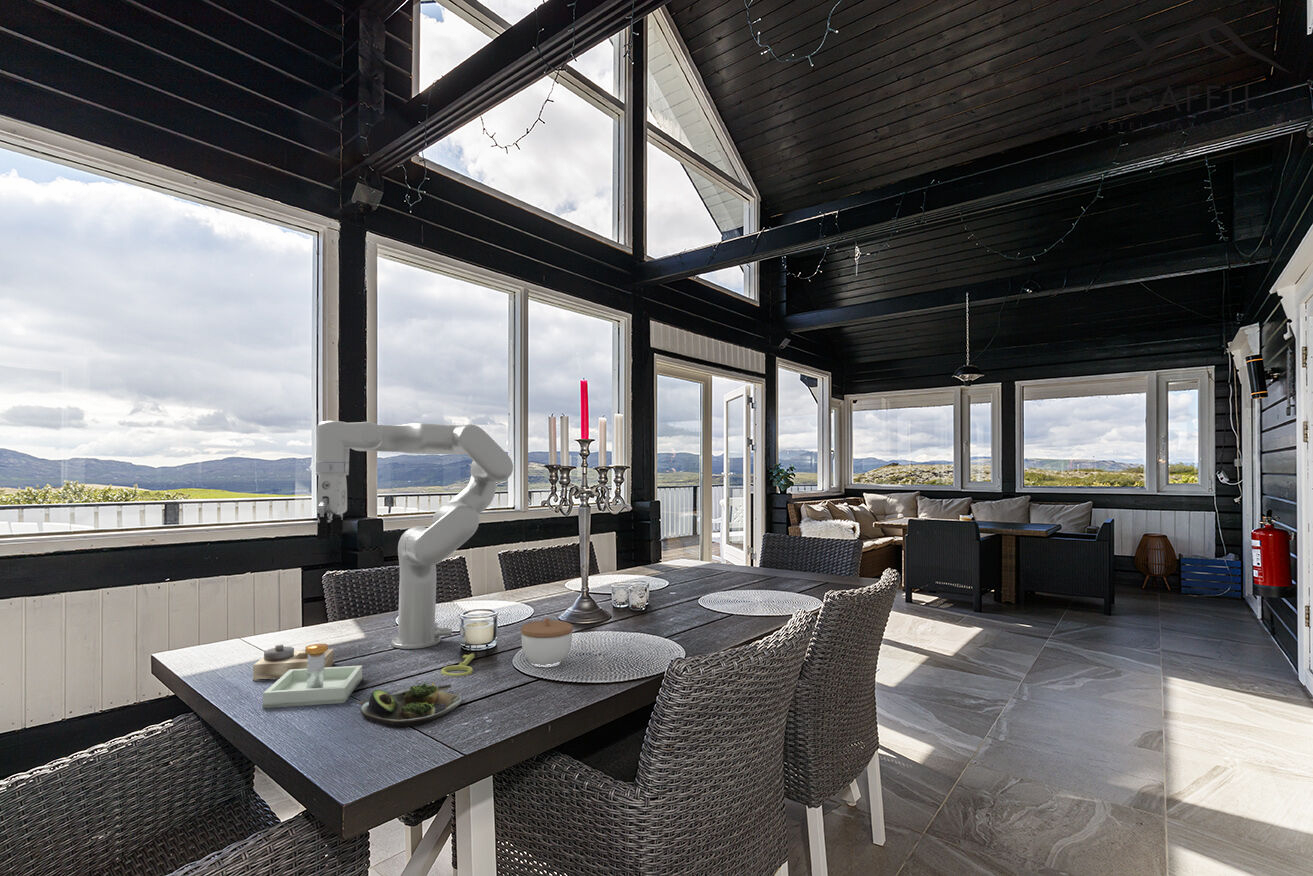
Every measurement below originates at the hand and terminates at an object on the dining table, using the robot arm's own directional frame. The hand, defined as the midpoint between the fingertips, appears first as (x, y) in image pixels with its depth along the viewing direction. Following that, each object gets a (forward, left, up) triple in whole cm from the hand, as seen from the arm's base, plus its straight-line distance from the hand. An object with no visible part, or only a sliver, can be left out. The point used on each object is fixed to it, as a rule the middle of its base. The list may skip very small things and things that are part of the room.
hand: (330, 536), depth 160 cm
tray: (-5, +26, -30) cm, 40 cm away
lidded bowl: (-54, +15, -31) cm, 64 cm away
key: (-34, +15, -31) cm, 48 cm away
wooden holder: (+4, +10, -30) cm, 32 cm away
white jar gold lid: (-5, +26, -30) cm, 40 cm away
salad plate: (-26, +40, -31) cm, 57 cm away
